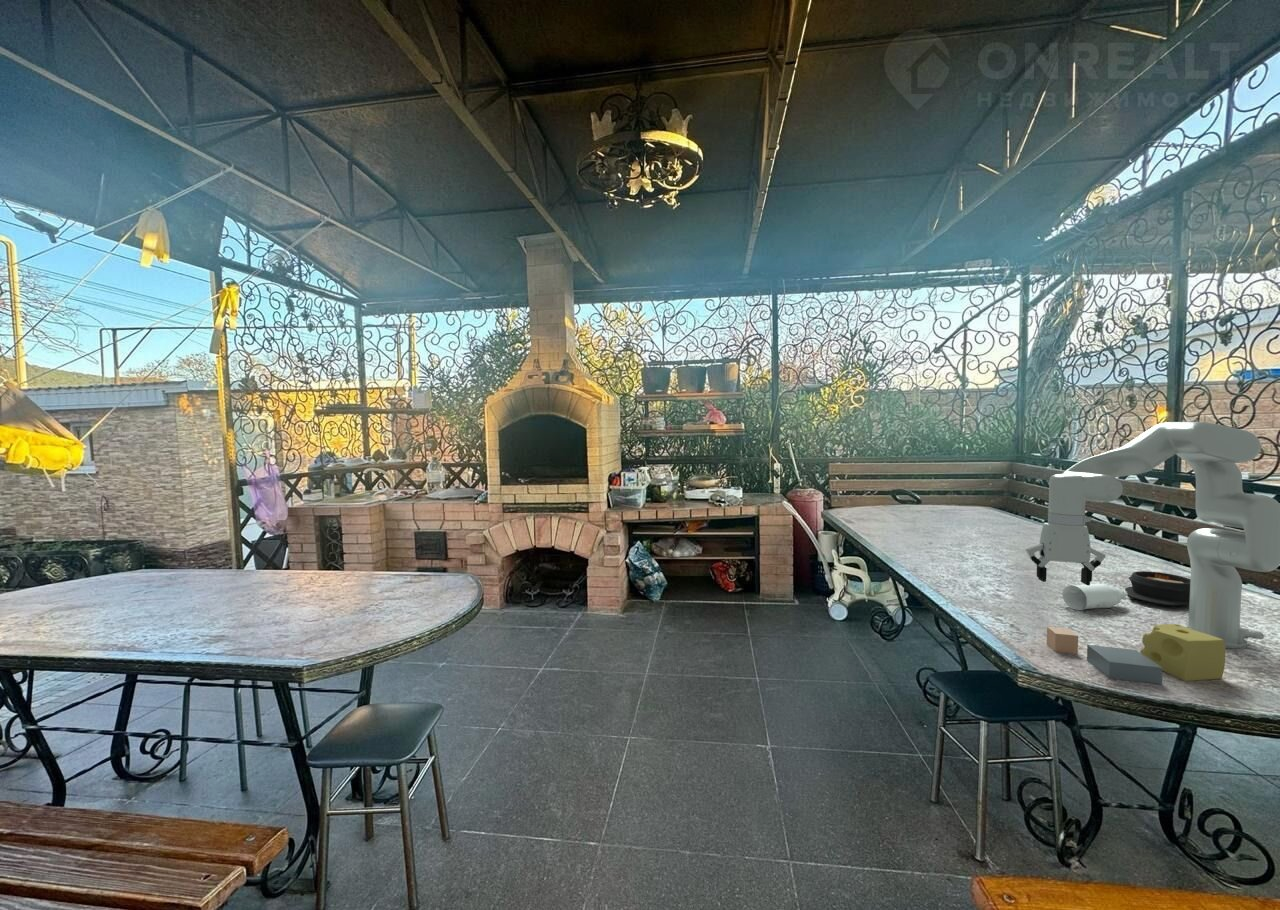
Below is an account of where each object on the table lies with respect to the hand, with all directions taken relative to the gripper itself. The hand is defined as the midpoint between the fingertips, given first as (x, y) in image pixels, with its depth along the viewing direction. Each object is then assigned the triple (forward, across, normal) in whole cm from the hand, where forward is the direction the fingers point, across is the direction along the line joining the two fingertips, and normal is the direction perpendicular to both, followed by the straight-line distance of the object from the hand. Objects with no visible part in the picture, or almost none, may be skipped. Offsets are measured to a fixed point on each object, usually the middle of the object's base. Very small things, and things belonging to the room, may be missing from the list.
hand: (1063, 582), depth 135 cm
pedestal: (+18, -8, +11) cm, 23 cm away
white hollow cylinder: (+19, -25, -42) cm, 52 cm away
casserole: (+18, -51, -57) cm, 79 cm away
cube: (+18, 0, 0) cm, 19 cm away
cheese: (+19, -22, +6) cm, 30 cm away
